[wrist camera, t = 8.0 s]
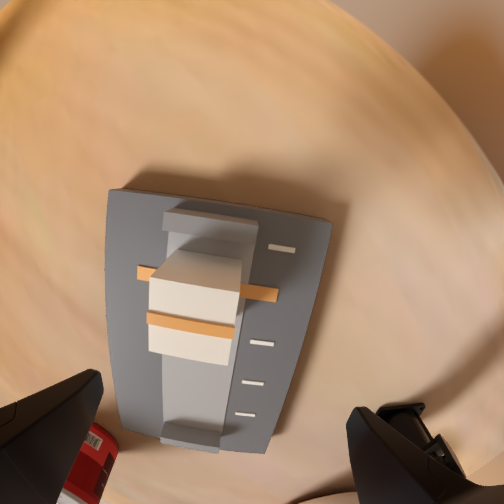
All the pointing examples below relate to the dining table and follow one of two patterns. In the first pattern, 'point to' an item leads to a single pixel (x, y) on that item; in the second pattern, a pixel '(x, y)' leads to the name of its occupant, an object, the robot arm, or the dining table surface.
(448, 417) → the dining table surface
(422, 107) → the dining table surface
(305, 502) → the white serving bowl
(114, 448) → the canned food
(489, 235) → the dining table surface
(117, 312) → the console plate
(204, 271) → the fader tab
